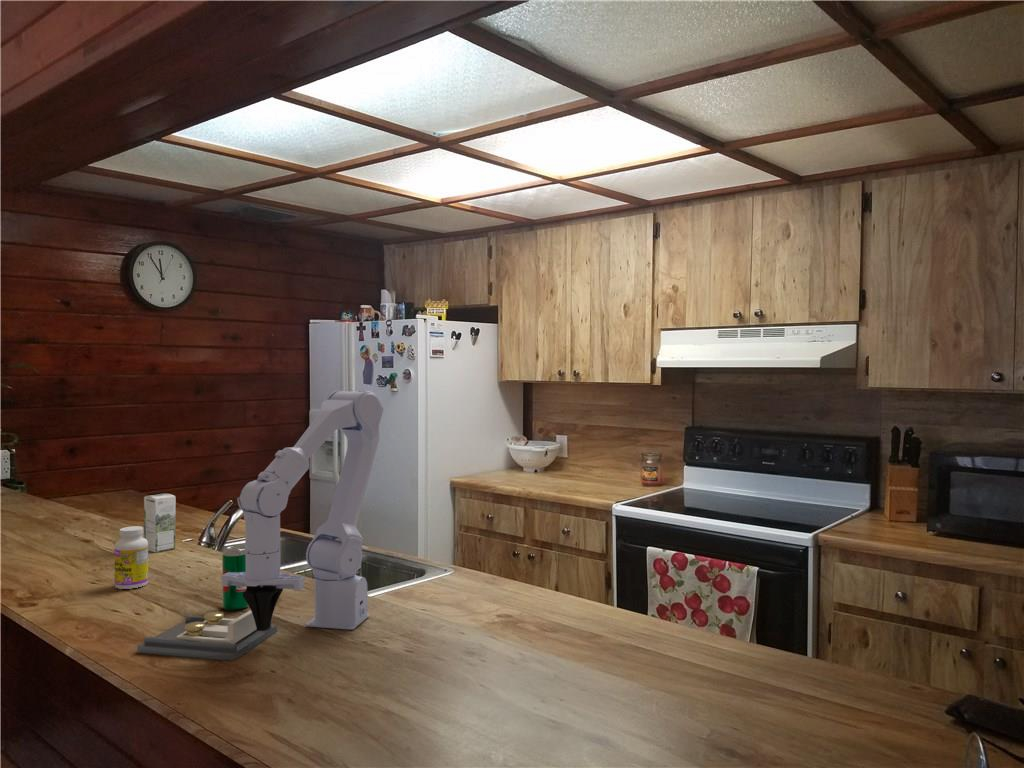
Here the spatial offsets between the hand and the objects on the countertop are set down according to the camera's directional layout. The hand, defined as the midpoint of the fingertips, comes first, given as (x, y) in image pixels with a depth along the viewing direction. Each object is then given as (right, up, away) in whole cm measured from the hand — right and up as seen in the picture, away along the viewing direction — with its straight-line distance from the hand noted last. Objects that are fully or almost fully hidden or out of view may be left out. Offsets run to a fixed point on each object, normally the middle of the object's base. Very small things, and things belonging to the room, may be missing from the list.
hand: (263, 628), depth 128 cm
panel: (-8, -2, +2) cm, 8 cm away
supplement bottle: (-41, -3, +36) cm, 55 cm away
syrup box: (-51, -2, +69) cm, 86 cm away
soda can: (-12, -3, +21) cm, 25 cm away
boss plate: (-10, -3, +2) cm, 11 cm away
